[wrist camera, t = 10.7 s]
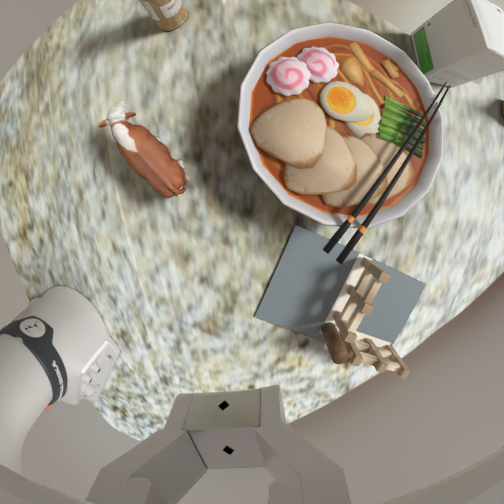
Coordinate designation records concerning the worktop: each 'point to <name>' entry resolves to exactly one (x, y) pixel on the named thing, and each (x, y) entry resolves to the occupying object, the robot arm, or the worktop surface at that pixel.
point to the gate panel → (360, 299)
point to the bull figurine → (146, 153)
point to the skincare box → (461, 42)
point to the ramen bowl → (341, 127)
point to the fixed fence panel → (376, 356)
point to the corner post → (334, 343)
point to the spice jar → (166, 13)
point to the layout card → (333, 291)
